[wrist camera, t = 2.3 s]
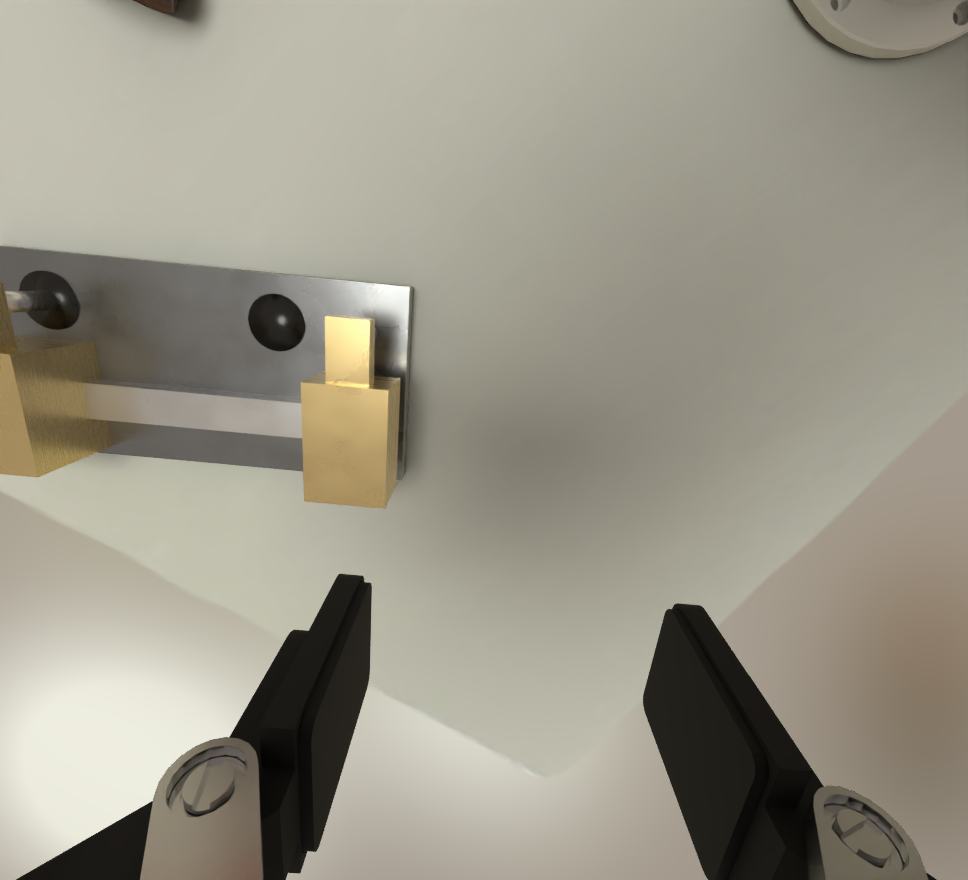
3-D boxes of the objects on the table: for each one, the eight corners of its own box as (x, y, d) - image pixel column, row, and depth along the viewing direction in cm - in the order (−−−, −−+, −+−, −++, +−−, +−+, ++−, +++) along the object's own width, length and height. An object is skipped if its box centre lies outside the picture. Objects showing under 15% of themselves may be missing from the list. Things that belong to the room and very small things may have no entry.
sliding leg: (406, 317, 24) (390, 323, 20) (399, 476, 27) (384, 508, 23) (329, 309, 24) (298, 314, 20) (331, 470, 27) (304, 501, 23)
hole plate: (413, 287, 25) (391, 287, 20) (405, 472, 29) (384, 517, 23) (4, 246, 25) (-137, 234, 19) (46, 439, 28) (-64, 477, 23)
